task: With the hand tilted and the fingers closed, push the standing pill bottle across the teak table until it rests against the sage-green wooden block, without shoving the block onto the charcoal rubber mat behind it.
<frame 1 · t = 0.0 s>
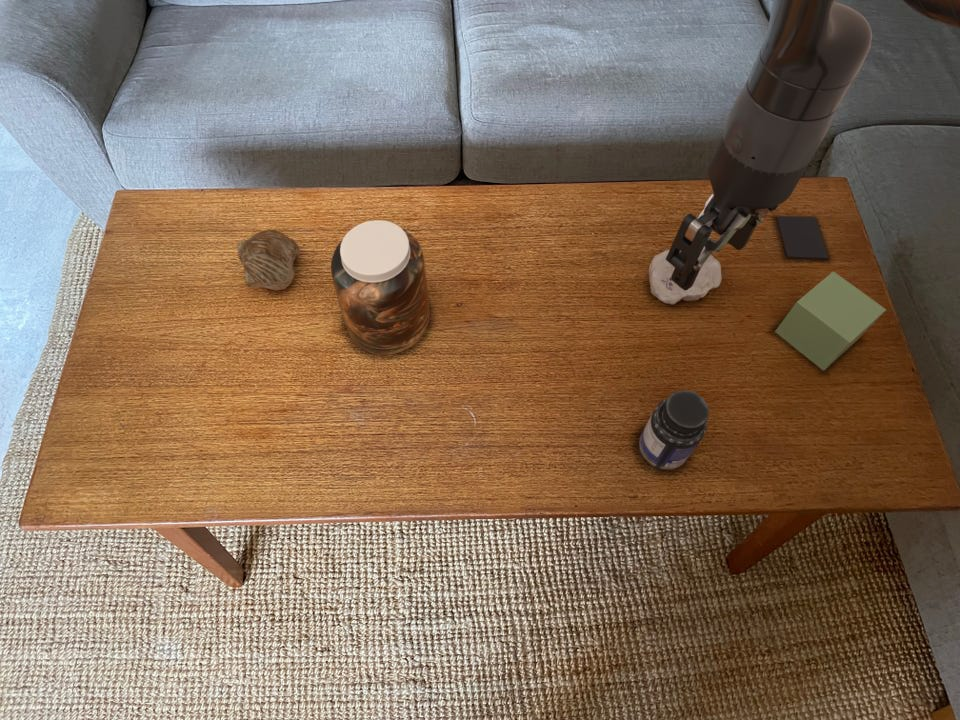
hand: (707, 263, 68), 21 cm above the table, tool pointing down, fingers open, 8 cm apart
fossil: (677, 283, 93), on the table
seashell: (274, 272, 93), on the table
jar: (388, 319, 89), on the table
green block: (816, 335, 89), on the table
pill bottle: (661, 449, 80), on the table
rubber mat: (801, 238, 98), on the table
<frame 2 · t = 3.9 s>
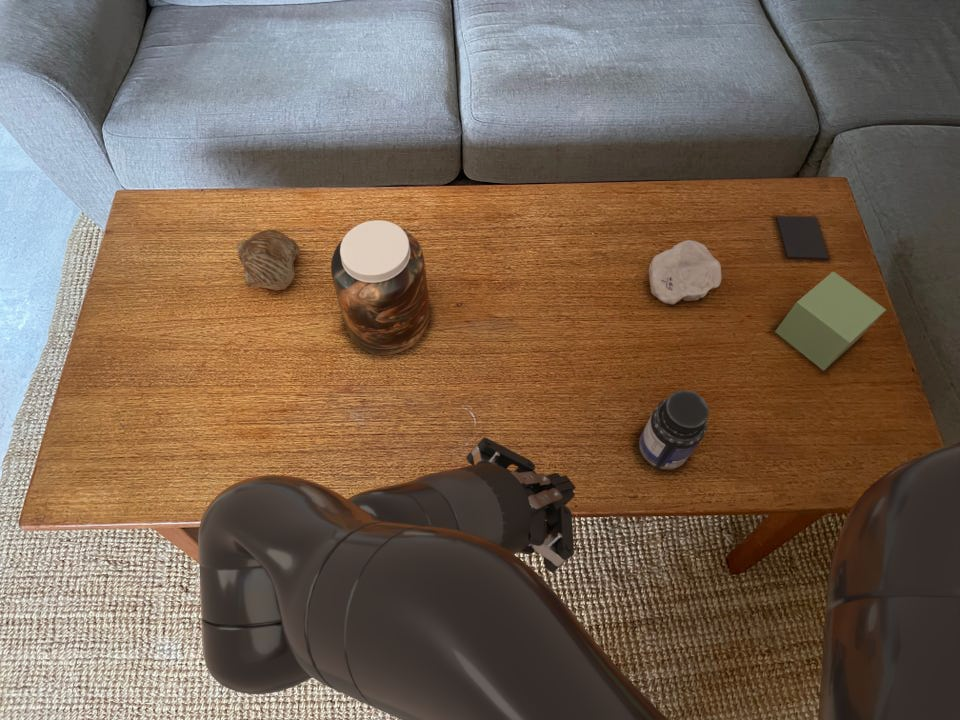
hand: (564, 487, 62), 15 cm above the table, tool tilted 45°, fingers closed
nothing on the table moved.
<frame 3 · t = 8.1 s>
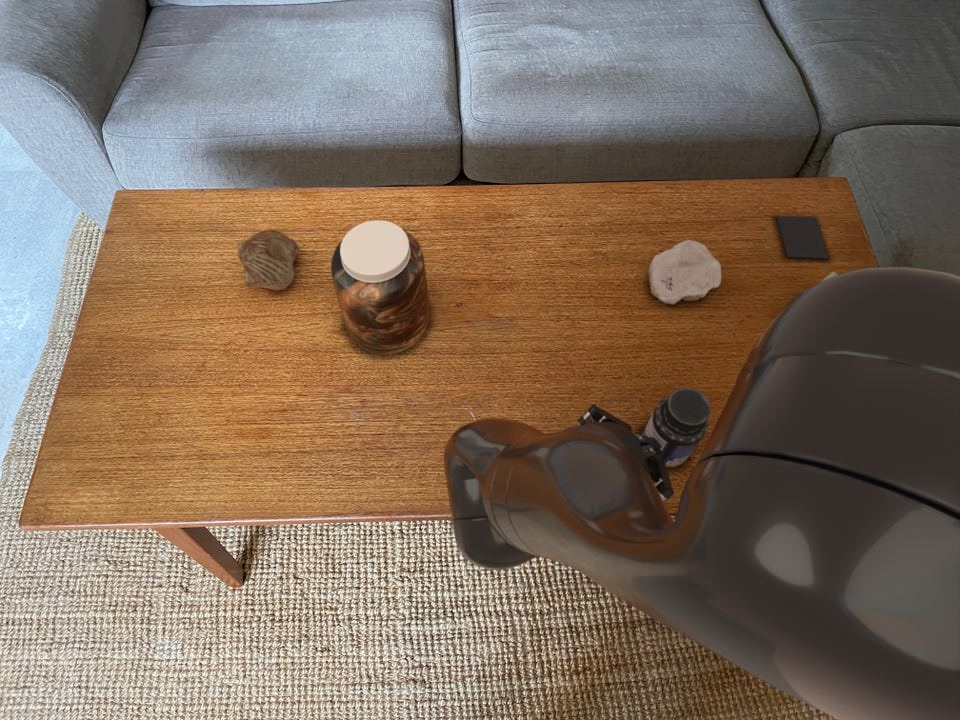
hand: (652, 447, 75), 4 cm above the table, tool tilted 45°, fingers closed
pill bottle: (663, 447, 80), on the table, touching gripper
everything else where it was.
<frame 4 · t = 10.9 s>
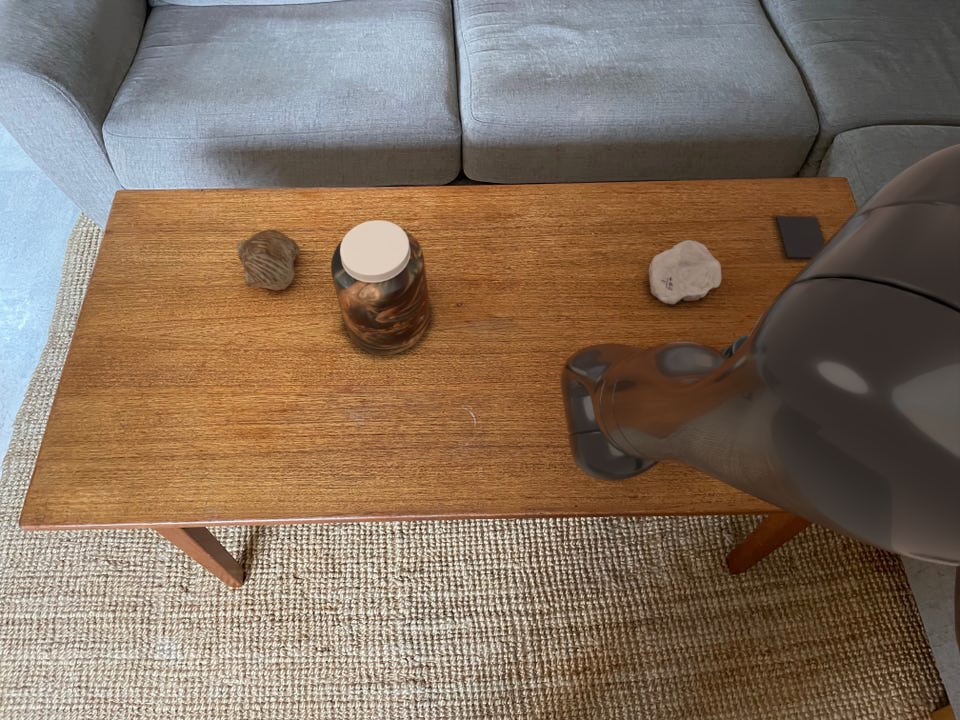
hand: (716, 395, 79), 5 cm above the table, tool tilted 45°, fingers closed
pill bottle: (720, 397, 84), on the table, touching gripper
everything else where it was.
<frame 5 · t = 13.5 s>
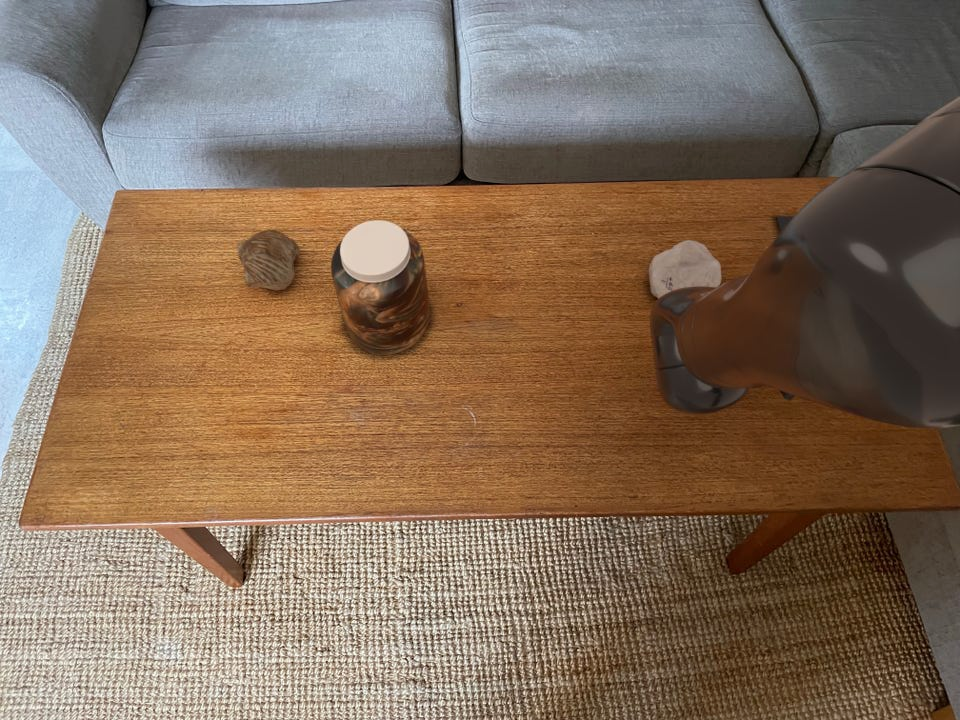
hand: (769, 355, 82), 4 cm above the table, tool tilted 45°, fingers closed
pill bottle: (770, 359, 87), on the table, touching gripper
everything else where it was.
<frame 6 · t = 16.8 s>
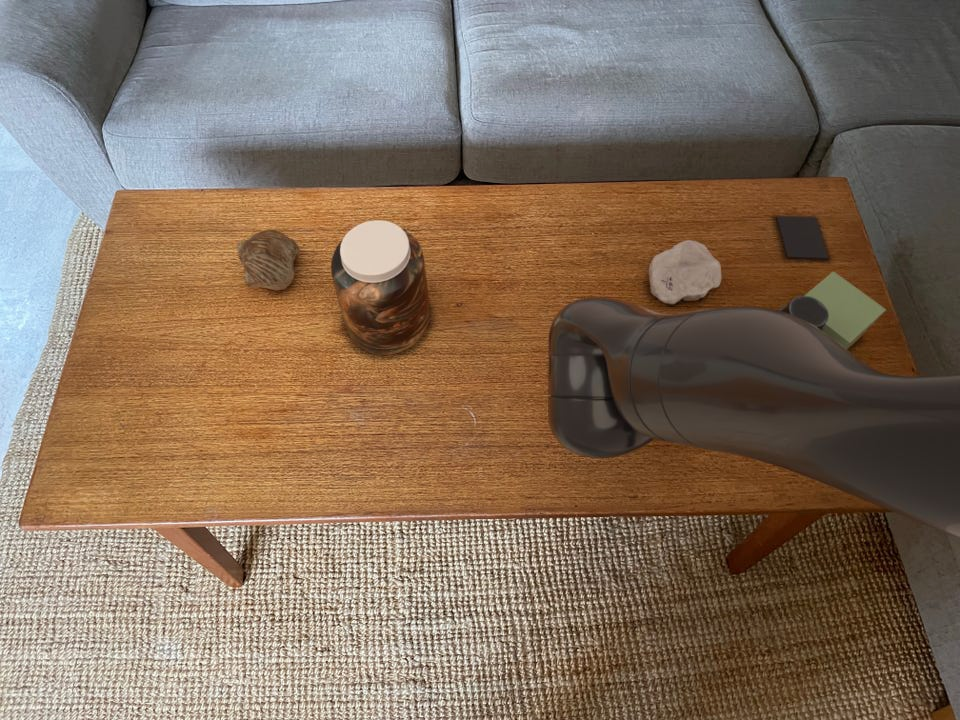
hand: (729, 375, 71), 13 cm above the table, tool tilted 45°, fingers closed
pill bottle: (771, 359, 87), on the table
everything else where it was.
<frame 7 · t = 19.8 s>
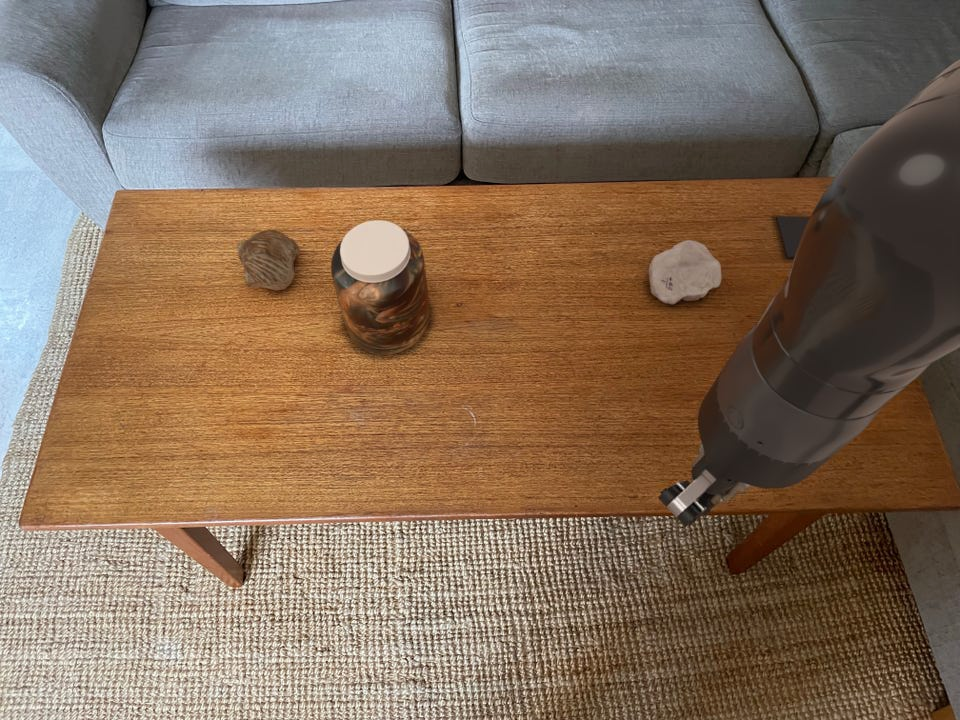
hand: (699, 499, 51), 24 cm above the table, tool pointing down, fingers closed
nothing on the table moved.
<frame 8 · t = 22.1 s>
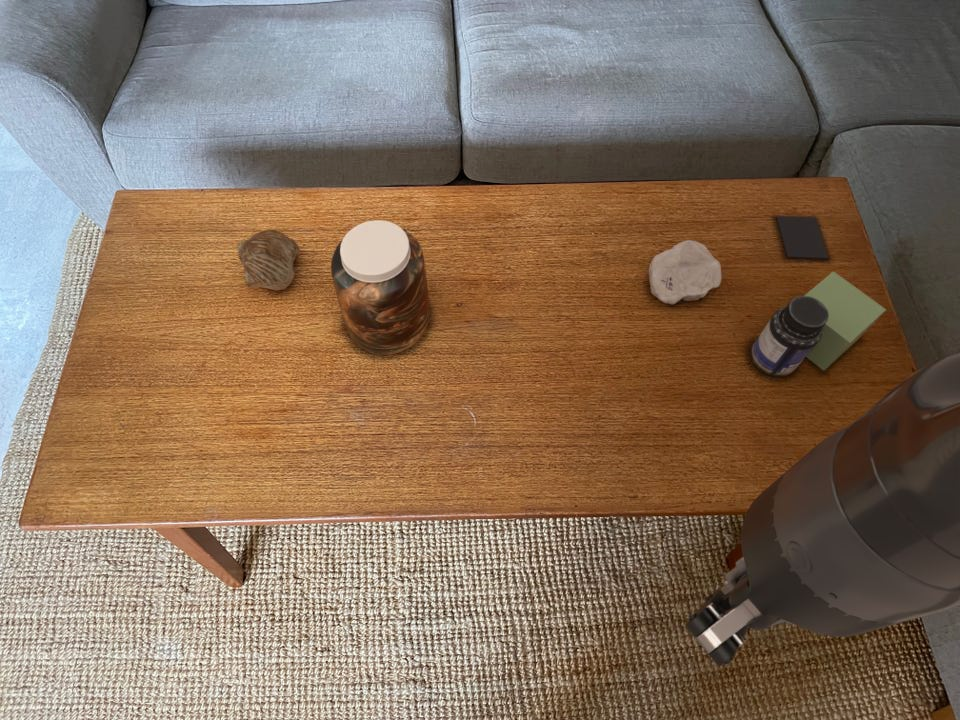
hand: (727, 604, 43), 29 cm above the table, tool pointing down, fingers closed
nothing on the table moved.
at the end: pill bottle 7.9 cm from the green block (horizontally); pill bottle tilted 0°; green block touching table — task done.
